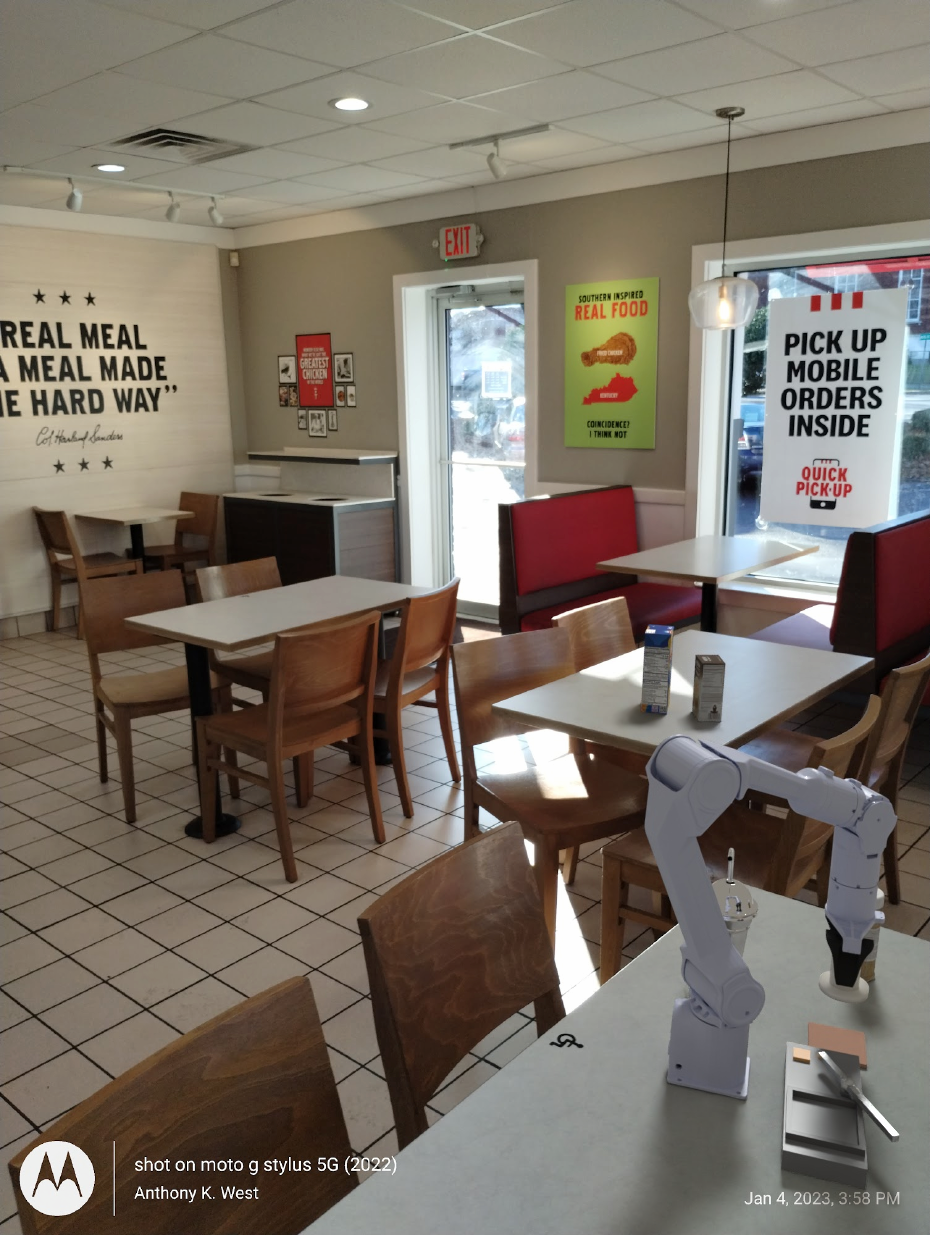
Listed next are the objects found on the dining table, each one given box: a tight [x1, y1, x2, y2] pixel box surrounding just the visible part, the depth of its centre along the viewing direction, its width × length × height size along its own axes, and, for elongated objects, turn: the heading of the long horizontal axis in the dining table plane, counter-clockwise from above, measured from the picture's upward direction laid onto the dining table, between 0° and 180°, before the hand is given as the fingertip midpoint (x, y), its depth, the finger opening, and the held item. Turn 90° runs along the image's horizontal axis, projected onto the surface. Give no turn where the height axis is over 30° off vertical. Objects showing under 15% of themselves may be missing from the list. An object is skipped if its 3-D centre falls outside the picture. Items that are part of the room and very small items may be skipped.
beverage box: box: [640, 624, 675, 716], centre depth 272 cm, size 7×11×22 cm, turn 165°
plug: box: [818, 955, 870, 1004], centre depth 128 cm, size 6×6×6 cm
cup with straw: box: [711, 847, 760, 958], centre depth 146 cm, size 8×9×20 cm
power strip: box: [780, 1041, 869, 1191], centre depth 117 cm, size 9×20×3 cm, turn 161°
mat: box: [807, 1021, 868, 1069], centre depth 130 cm, size 7×7×1 cm
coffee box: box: [691, 654, 726, 722], centre depth 266 cm, size 9×6×16 cm
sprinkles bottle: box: [860, 887, 885, 982], centre depth 146 cm, size 5×5×13 cm
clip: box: [818, 1052, 900, 1143], centre depth 115 cm, size 1×14×2 cm, turn 12°
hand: (843, 976), depth 128 cm, fingers closed on plug, 4 cm apart
